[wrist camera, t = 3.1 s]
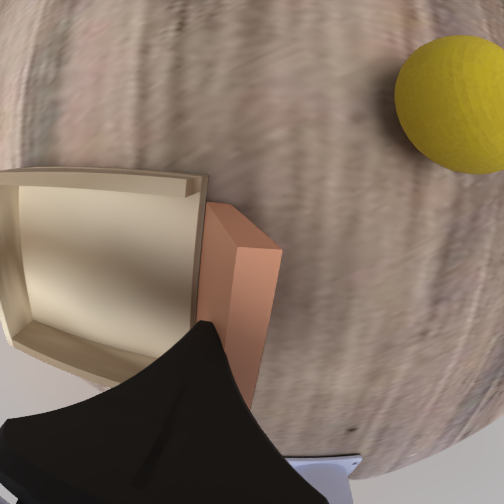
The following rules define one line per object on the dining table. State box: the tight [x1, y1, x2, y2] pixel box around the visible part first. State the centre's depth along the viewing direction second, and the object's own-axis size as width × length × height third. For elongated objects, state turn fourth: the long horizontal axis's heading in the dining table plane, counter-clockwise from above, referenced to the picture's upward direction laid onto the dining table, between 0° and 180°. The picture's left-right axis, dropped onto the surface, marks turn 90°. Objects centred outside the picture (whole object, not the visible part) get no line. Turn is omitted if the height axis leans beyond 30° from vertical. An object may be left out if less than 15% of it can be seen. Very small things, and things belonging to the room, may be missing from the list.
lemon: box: [394, 35, 504, 174], centre depth 7 cm, size 6×6×8 cm
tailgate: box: [196, 202, 283, 410], centre depth 10 cm, size 1×8×6 cm, turn 171°
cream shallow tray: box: [0, 167, 209, 388], centre depth 12 cm, size 10×11×4 cm
